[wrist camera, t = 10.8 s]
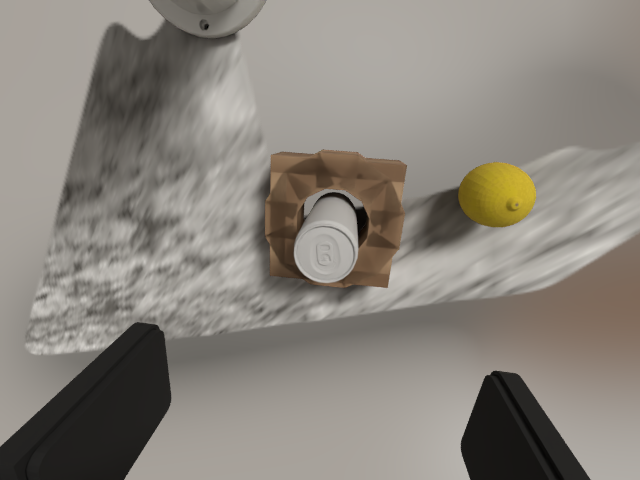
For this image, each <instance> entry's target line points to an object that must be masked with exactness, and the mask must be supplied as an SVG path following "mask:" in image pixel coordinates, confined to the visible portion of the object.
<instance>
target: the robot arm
mask: <svg viewBox="0 0 640 480" xmlns="http://www.w3.org/2000/svg"><path fill="white" fill-rule="evenodd" d="M149 1H150V2H151V4H152V5H153V7H154V8H155V9H156V10H157V11H158V12H159V13H160V14H161V15H162V16H163V17H164V18H165V19H166V20H168V21H169V22H170V23H172V24H173V25H175V26H176V27H177V28H179V29H181V30H183V31H185V32H187V33H189V34H192V35H195V36H198V37H204V38H219V37H225V36H228V35H231V34H233V33H236V32H238V31H239V30H241V29H242V28H244V27H245V26H247V25H248V24H249V23H250V22H251V21H252V20H253V18H255V17H256V16H257V14H258V13H259V11H260V10H261V8H262V7H263V5H264V4H265V2H266V0H149ZM207 25H209V28H208V29H207V30H206V27H207ZM170 403H171V391H170V382H169V373H168V364H167V356H166V347H165V338H164V332H163V331H161V330H160V329H159V327H158V325H155V324H147V323H140V322H137V323H134V324H133V325H132V326H131V327H129V328H128V329H127V330H126V331H125V332H124V333H123V334H122V335H121V336H120V337H119V338H118V339H116V340H115V341H114V342H113V343H112V344H111V345H110V346H109V347H108V348H107V349H106V350H105V351H103V352H102V353H101V354H100V355H99V356H98V357H97V358H96V359H95V360H94V361H93V362H92V363H90V364H89V365H88V366H87V367H86V368H85V369H84V370H83V371H82V372H81V373H80V374H79V375H77V377H75V378H74V379H73V380H72V381H71V382H70V383H69V384H68V385H67V386H66V387H64V388H63V389H62V390H61V391H60V392H59V393H58V394H57V395H56V396H55V397H54V398H53V399H51V400H50V401H49V402H48V403H47V404H46V405H45V406H44V407H43V408H42V409H41V410H40V411H38V412H37V413H36V414H35V415H34V416H33V417H32V418H31V419H30V420H29V421H28V422H27V423H26V424H25V425H23V426H22V427H21V428H20V429H19V430H18V431H17V432H16V433H15V434H14V435H12V436H11V437H10V438H9V439H8V440H7V441H6V442H5V443H4V444H3V445H2V446H1V447H0V480H124V479H125V477H126V475H127V474H128V472H129V470H130V469H131V468H132V466H133V464H134V463H135V461H136V460H137V458H138V456H139V455H140V453H141V452H142V450H143V449H144V447H145V445H146V444H147V442H148V441H149V439H150V438H151V436H152V434H153V433H154V431H155V430H156V428H157V427H158V425H159V423H160V422H161V420H162V418H163V417H164V415H165V414H166V412H167V410H168V409H169V406H170ZM461 452H462V456H463V459H464V462H465V465H466V468H467V471H468V474H469V477H470V480H590V478H589V477H588V475H587V474H586V472H585V471H584V469H583V468H582V466H581V465H580V463H579V462H578V461H577V459H576V458H575V456H574V455H573V453H572V452H571V450H570V449H569V447H568V446H567V444H566V443H565V441H564V440H563V439H562V437H561V435H560V434H559V433H558V431H557V430H556V428H555V427H554V425H553V424H552V422H551V421H550V419H549V418H548V416H547V415H546V414H545V412H544V410H543V409H542V408H541V406H540V405H539V403H538V402H537V400H536V399H535V397H534V396H533V394H532V393H531V391H530V390H529V389H528V387H527V385H526V384H525V383H524V381H523V380H522V378H521V377H520V376H519V375H518V374H516V373H509V372H502V371H493V372H492V373H491V375H487V376H485V378H484V381H483V384H482V386H481V389H480V391H479V394H478V397H477V400H476V402H475V405H474V408H473V410H472V413H471V416H470V418H469V421H468V424H467V427H466V429H465V432H464V435H463V437H462V440H461Z"/></svg>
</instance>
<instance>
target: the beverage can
mask: <svg viewBox="0 0 640 480" xmlns="http://www.w3.org/2000/svg"><path fill="white" fill-rule="evenodd" d="M294 258H295V262H296V265H297V266H298V268H299V270H300V271H301V272H302V273H303V274H304V275H305V276H306V277H308V278H309V279H311V280H313V281H316V282H320V283H332V282H336V281H339V280H341V279H343V278H344V277H346V276H347V275H348V274H349V273H350V272H351V271H352V269H353V268H354V265H355V263H356V260H357V258H358V233H357V215H356V210H355V207H354V205H353V203H352V202H351V201H350V199H349V198H348V197H346V196H345V195H343V194H341V193H336V192H332V193H327V194H325V195H323V196H321V197H320V198H319V199H318V200H317V201H316V203H315V205H314V206H313V208H312V210H311V212H310V213H309V215H308V216H307V218H306V220H305V222H304V223H303V225H302V227H301V229H300V231H299V233H298V235H297V237H296V240H295V243H294Z"/></svg>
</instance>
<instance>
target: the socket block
mask: <svg viewBox="0 0 640 480" xmlns="http://www.w3.org/2000/svg"><path fill="white" fill-rule="evenodd" d="M406 168H407V165H406V164H404V163H402V162H401V161H399V160H385V159H372V158H365V157H363V156H362V155H361V154H359V153H358V152H347V151H333V150H321V151H320V152H318V153H316V154H304V153H292V152H280V153H276V154H273V155H271V189H270V194H269V196H268V198H267V199H266V200H265V237H266V239H267V240H268V242H269V244H270V276H279V277H288V278H298V279H303V280H305V281H306V282H308V283H309V284H313V285H323V286H332V287H342V288H345V287H348V286H351V285H353V284H355V285H365V286H375V287H384V288H388V282H389V275H390V269H391V263H392V257H393V255H394V254H395V253H396V252H397V251H398V250H399V246H400V240H401V234H402V228H403V222H404V216H405V212H404V210H403V208H402V205H401V200H402V193H403V186H404V181H405V174H406ZM324 189H336V190H346V191H347V192H349V193H350V194H352V195H353V196H354V197H356V198H357V199H359V200H360V201H362V203H363V206H364V208H365V210H366V212H367V215H366V224H365V225H364V227H363V228H362V229H361V230H360V232H359V233H358V258H357V260H356V263H355V265H354V268H353V269H352V271H351V272H350V273H349V274H348V275H347V276H346V277H344V278H343V279H341V280H339V281H336V282H332V283H320V282H316V281H313V280H311V279H309V278H308V277H306V276H305V275H304V274H303V273H302V272H301V271H300V270H299V268H298V266H297V265H296V262H295V258H294V243H295V240H296V237H297V235H298V233H299V231H300V229H301V227H302V225H303V223H304V222H305V220H304V202H305V201H306V199H307V197H309V196H311V195H313V194H315V193H317V192H319V191H322V190H324Z"/></svg>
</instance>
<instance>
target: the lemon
mask: <svg viewBox="0 0 640 480" xmlns="http://www.w3.org/2000/svg"><path fill="white" fill-rule="evenodd" d="M458 199H459V203H460V206H461V208H462V210H463V211H464V213H465V214H466V215H467V216H468V217H469V218H470V219H472V220H473V221H475V222H477V223H479V224H481V225H485V226H489V227H506V226H510V225H513V224H515V223H517V222H519V221H521V220H522V219H523V218H525V217H526V216H527V215H528V214H529V212H530V211H531V210H532V208H533V206H534V203H535V199H536V190H535V187H534V184H533V182H532V180H531V179H530V177H529V176H528V175H527V174H526V173H525V172H523V171H522V170H521V169H519V168H518V167H516V166H513V165H510V164H507V163H499V162H494V163H488V164H484V165H481V166H479V167H476V168H475V169H473V170H472V171H470V172H469V173H468V174H467V175H466V176H465V177H464V179H463V181H462V182H461V184H460V187H459V191H458Z"/></svg>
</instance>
